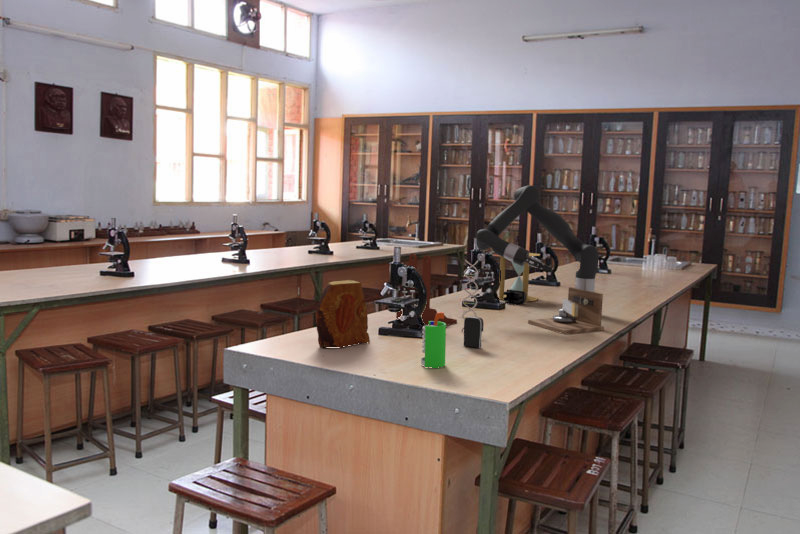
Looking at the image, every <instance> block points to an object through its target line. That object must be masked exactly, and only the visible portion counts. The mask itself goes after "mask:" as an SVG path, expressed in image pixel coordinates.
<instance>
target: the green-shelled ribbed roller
mask: <svg viewBox="0 0 800 534" xmlns="http://www.w3.org/2000/svg"><path fill="white" fill-rule="evenodd" d="M444 315H445V312H442V311H437V314H436V316H435V320H434V321H429V325H423V326H422V334H423V335H421V336H422V337H421V338H422V346H421V347H422V349H421V352H422V353H423V354H424V357H422V358H420V365H421V364H422V365H424V366H425V367H432V368H437V369H439V368H438V367H443V366H445V367H446V349H447V348H446V342H447V341H446V338H447V325H446V323H444V322H438V319H440V318H441V319H444ZM425 367H424V368H425ZM443 368H444V367H443Z"/></svg>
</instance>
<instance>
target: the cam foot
mask: <svg viewBox="0 0 800 534" xmlns="http://www.w3.org/2000/svg"><path fill="white" fill-rule="evenodd" d="M568 313H569V314H571V315H572V316H568ZM573 316H574V317H573ZM577 316H578V304H576V303H574V302H572V301H570V300H568V298H562V307H561V308H559V310H558V314H557V315H556V314H555V315H553V316H552V318H553V321H555V322H560V323H575V322H576V317H577Z"/></svg>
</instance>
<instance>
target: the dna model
mask: <svg viewBox="0 0 800 534" xmlns="http://www.w3.org/2000/svg"><path fill="white" fill-rule="evenodd" d="M464 261H465V262H466V264H469V265H470V266H469V267H467V268H466V269H465V270H464V271H463V275H464V276H465V277H466V279H468V280H469V281H468V282H466V283H464V285H463V286H462V288H463V291H464V292H466V293H467V294H468V296H466V297H464V298H463V300H462V304H463V305H464V306H465V307H467V308H468V310H466V311H465V312H463V314H462V315H461V317H462V319H463V320H465V318H466V316H465V315H466V314H467V313H469V312H473V314H474V317H478V315H477V313H476V311H475V310H474V309H475V308H476V307H477V306H478V298H476V296H475V294H476V293H477V291H479V286H478V284H477V283H476V282H475V281H474V280H476V279H477V278H478V277H479V271H478V269H477V268H476V266H475V265H477V264H478V263H479V260H478V259H477V260H476V261H475V263H474V264H472V263H471V262H469V261H468V260H466V259H464ZM471 268H473V269H474V270H475V271H476V274H475V273H474V274H472V273H466V272H467V271H468V270H469V269H471ZM470 275H471V276H475V277H474V278H471V277H470ZM470 283H474V285H475V288H470V290H472V291H473V290H474V292H473V293H471V292H470V291H468V287H467V288H466V286H467V285H468V284H470ZM470 297H472V298H473V299H474V300H475V303H474V302H465V301H466V300H467V299H468V298H470ZM468 304H469V305H473V306H472V307H470V306H469V305H468ZM462 331H463V332H464V326H463V327H462V328H461V332H462Z"/></svg>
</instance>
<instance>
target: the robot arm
mask: <svg viewBox="0 0 800 534" xmlns="http://www.w3.org/2000/svg"><path fill="white" fill-rule="evenodd" d="M513 194H514V195H513V198H514V201H513V203H511V205H509V206H508V207H506V208H505V209H504V210H502V211H501V212H500V213H498V214H497V215H496V216H495V217H494V218H493V219H492V220H491V221H490V222H489V223H488V226H487V229H484V228H483V229H479V230H478V231H477V232H476V234H475V242H476V247H477V249H479V250H480V251H487V250H489V249H490V248H491V249H492V251H493V253H494V254H496V255H498V256H500V257H501V256H502V257H504V258H506V260H507V261H510V262H511V261H512V262H514V263H516V264H518V265H520V266H523V265H524V264H525V262H527V263H528V264H527V265H529V267H530V266H531V267H534V268H535V269H540V270H543V271H546V272H547V273H552V272H553V268H554V267H551V266H549V265H547V264H546V263H545V262H542V260H539V259H537V258H536V257H535V256H529V253H530V251H529V250H528V249H526V248H524V247H521V246H520V245H517V244H514V243H511V242H509V241H507V240H506V239H505V240H504V239H502V238H501V237H500V235H501V234H502V233H503V232H504V231H506V229H507V228H508V227H509V226H510V225H511V224H512V223H513V222H514V220H516V219H518V217H519V216H520V215H522V214H523V213H524V212H525V211H526V212H527V213H528V214H529V215H531V216H532V217H533V218H534V219H535V220H536V221H537V222H538V223H539V224H541V226H542V227H543V228H544V229H545V230H546V231H547V232H548V233H549V234H550V235H551V236H552V237H554V239H556V240H557V241H558V242H559V243H560V244H561V245H563V246H564V247H565V248H566V249H567V250H568V252H569V253H570V255H572V257H573V258H574V259H575V260H576V261H577V262H578V263H579V269H578V270H577V271H576V272H575V280H574V281H575V284H574V288H577V289H582V290H587V291H592V292H595V289H596V287H595V286H596V275H597V272H598V269H599V260H600V259H599V253H600V252H599V250H598V248H596V246H593V245H591V244H586V243H585V242H583V241H582V240H581V239H579V238H578V236H576V235H575V234H574V232H573V230H572V227H571V226H570V224H569V223H568V222H567V221H566V219H565V218H563V217H562V216H561V215H560V214H559V213H557V212H556V211H554V210H553V209H550V208H548V207H546V206H544V205H543V204H541V203H540V202H539V199H540V197H541V194H540V189H538V187H536V186H535V185H530V184H529V185H525V186H522V187H519V188H517V189H516V190H514V193H513ZM512 262H511V263H512Z"/></svg>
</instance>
